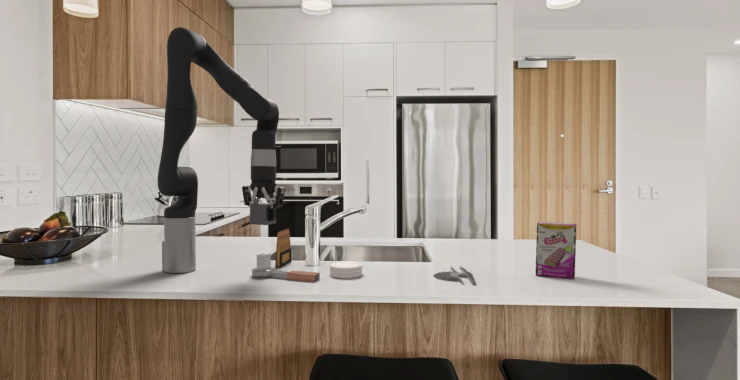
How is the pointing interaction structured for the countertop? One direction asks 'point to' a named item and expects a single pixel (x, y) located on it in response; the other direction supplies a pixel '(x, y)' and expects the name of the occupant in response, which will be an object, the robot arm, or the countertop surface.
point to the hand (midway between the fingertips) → (263, 220)
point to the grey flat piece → (455, 276)
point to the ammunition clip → (283, 249)
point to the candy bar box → (556, 250)
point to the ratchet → (268, 272)
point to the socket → (260, 214)
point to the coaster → (345, 269)
